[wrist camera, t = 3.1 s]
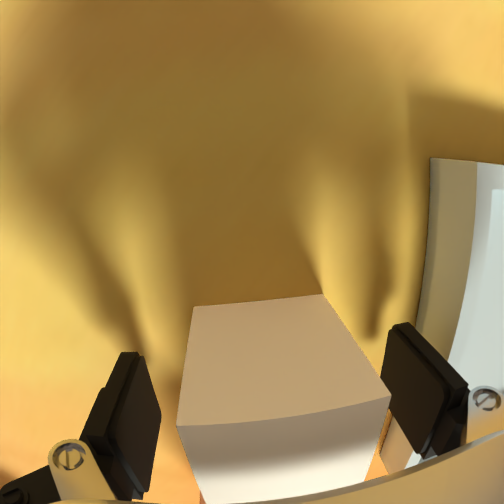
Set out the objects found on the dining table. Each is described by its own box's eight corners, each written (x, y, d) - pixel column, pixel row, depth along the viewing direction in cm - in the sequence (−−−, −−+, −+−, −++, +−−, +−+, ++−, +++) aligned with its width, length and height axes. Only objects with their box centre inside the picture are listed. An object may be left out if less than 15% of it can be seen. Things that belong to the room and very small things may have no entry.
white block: (193, 306, 11) (175, 425, 6) (322, 292, 11) (391, 394, 6) (211, 400, 12) (210, 514, 7) (318, 388, 12) (359, 492, 7)
